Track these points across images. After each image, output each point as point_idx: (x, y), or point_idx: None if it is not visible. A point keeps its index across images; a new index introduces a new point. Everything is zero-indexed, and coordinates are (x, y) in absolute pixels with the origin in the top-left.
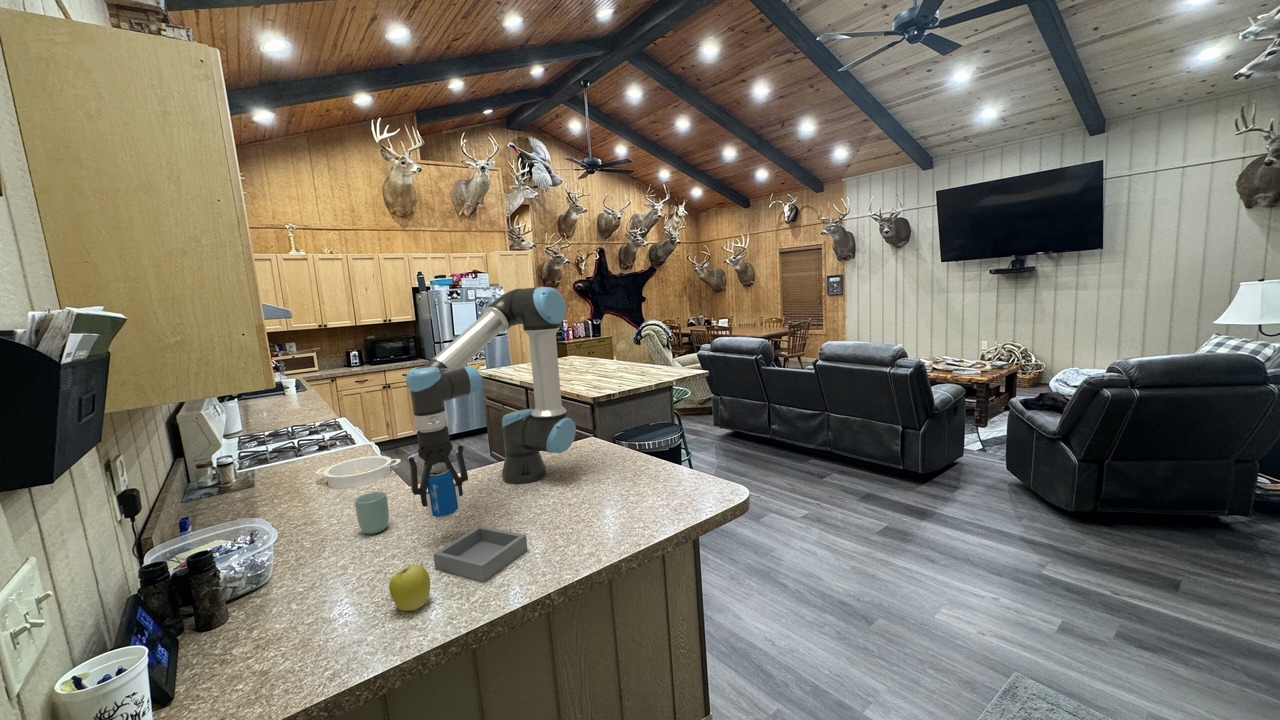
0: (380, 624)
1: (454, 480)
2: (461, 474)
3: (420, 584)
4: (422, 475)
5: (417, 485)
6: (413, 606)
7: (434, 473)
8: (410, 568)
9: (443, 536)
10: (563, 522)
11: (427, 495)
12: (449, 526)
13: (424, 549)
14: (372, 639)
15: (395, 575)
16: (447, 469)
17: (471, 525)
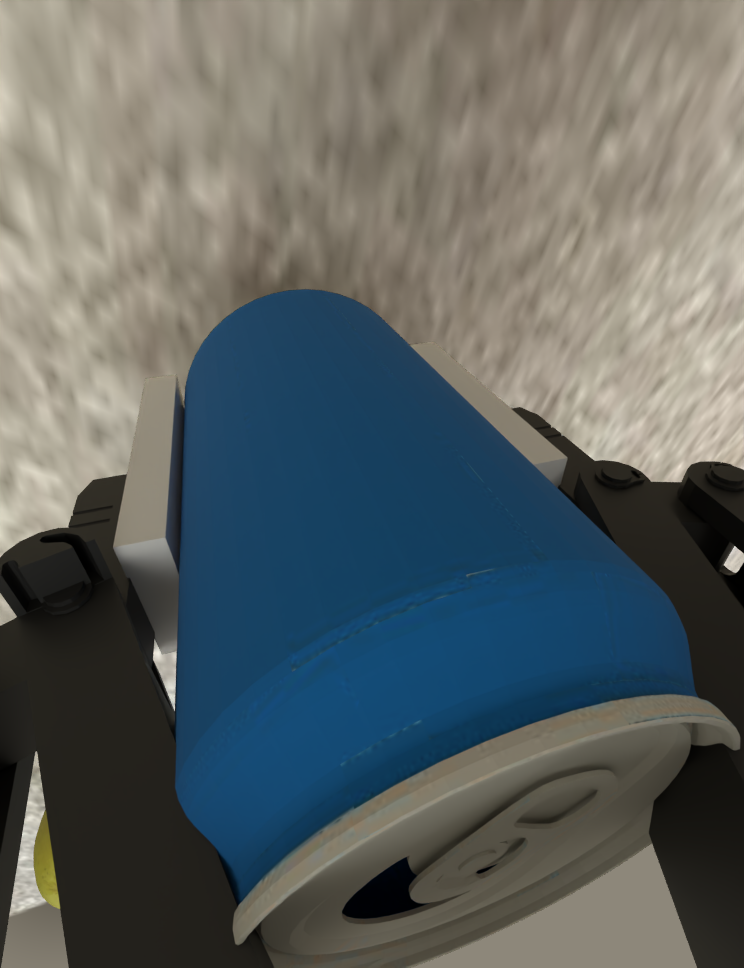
0: (30, 803)
1: (586, 504)
2: (728, 532)
3: None
4: (74, 946)
5: (3, 887)
6: None
7: (412, 577)
8: None
9: (242, 269)
10: (698, 448)
11: (175, 645)
12: (300, 92)
13: (118, 395)
14: (25, 838)
15: (59, 905)
16: (657, 786)
17: (435, 208)
